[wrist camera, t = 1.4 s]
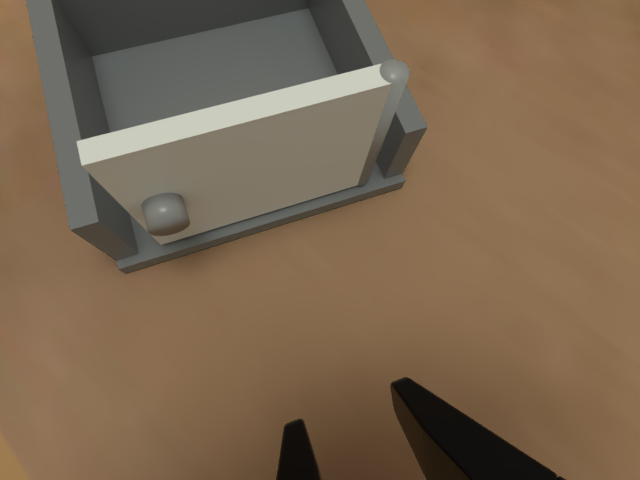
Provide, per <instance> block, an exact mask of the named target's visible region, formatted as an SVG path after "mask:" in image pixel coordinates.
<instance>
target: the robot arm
mask: <svg viewBox="0 0 640 480" xmlns="http://www.w3.org/2000/svg"><path fill="white" fill-rule="evenodd" d="M390 388H391V394H392V401H393V407H394V411H395V413H396V416H397V418H398V420H399V422H400V425H401V427H402V429H403V431H404V433H405V435H406V437H407V439H408V442H409V444H410V446H411V448H412V450H413V452H414V454H415V456H416V459H417V461H418V463H419V465H420V467H421V469H422V471H423V473H424V475H425V477H426V479H427V480H565V479H564V478H562V477H560V476H559V477H558V478H557V475H556V473H554V472H553V471H551V470H550V469H548V468H547V467H545V466H544V465H542V464H540V463H539V462H537V461H536V460H534V459H533V458H531V457H530V456H528V455H527V454H525V453H524V452H522V451H520V450H519V449H517V448H516V447H514V446H513V445H511V444H510V443H508V442H507V441H505V440H504V439H502V438H501V437H499V436H497V435H496V434H494V433H493V432H491V431H490V430H488V429H487V428H485V427H484V426H482V425H481V424H479V423H477V422H476V421H474V420H473V419H471V418H470V417H468V416H467V415H465V414H464V413H462V412H461V411H459V410H457V409H456V408H454V407H453V406H451V405H450V404H448V403H447V402H445V401H444V400H442V399H441V398H439V397H437V396H436V395H434V394H433V393H431V392H430V391H428V390H427V389H425V388H424V387H422V386H421V385H419V384H417V383H416V382H414V381H413V380H411V379H410V378H407V377H404V378H401V379H399V380H396V381H394V382H392V383H391V386H390ZM276 480H322V476H321V473H320V470H319V467H318V464H317V461H316V458H315V454H314V451H313V448H312V445H311V442H310V439H309V436H308V433H307V430H306V426H305V423H304V421H303V419H297V420H294V421H292V422H289V423H287V424H286V425H285V427H284V431H283V437H282V444H281V451H280V458H279V464H278V471H277V478H276Z"/></svg>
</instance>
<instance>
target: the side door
mask: <svg viewBox="0 0 640 480" xmlns="http://www.w3.org/2000/svg"><path fill="white" fill-rule="evenodd" d="M409 75H410V71H409V68H408V66H407V65H406V64H405V63H404V62H402V61H400V60H397V59H389V60H386V61H384V62H383V63H382V64H378V65H374V66H370V67H366V68H362V69H358V70H354V71H351V72H347V73H343V74H339V75H335V76H331V77H327V78H323V79H319V80H315V81H311V82H307V83H303V84H299V85H296V86H292V87H288V88H284V89H280V90H276V91H272V92H268V93H264V94H260V95H256V96H252V97H248V98H244V99H241V100H237V101H233V102H229V103H225V104H221V105H217V106H213V107H209V108H205V109H201V110H197V111H193V112H189V113H186V114H182V115H178V116H174V117H170V118H166V119H162V120H158V121H154V122H150V123H146V124H142V125H138V126H134V127H131V128H127V129H123V130H119V131H115V132H111V133H107V134H103V135H99V136H95V137H91V138H87V139H83V140H79V141H76V142H77V146H78V151H79V156H80V161H81V165H82V167H83V168H84V169H85V170H86V171H87V172H88V173H89V174H90V175H91V176H92V177H93V178H94V179H95V180H96V181H97V182H98V183H99V184H100V185H101V186H102V187H103V188H104V189H105V190H106V191H107V192H108V193H109V194H110V195H111V196H112V197H113V198H114V199H115V200H116V201H117V202H118V203H119V204H120V205H121V206H122V207H123V208H124V209H125V210H126V211H127V212H128V213H129V214H130V215H131V216H132V217H133V218H134V219H135V220H136V221H137V222H138V223H139V224H140V225H141V226H142V227H143V228H144V229H145V230H146V231H147V232H148V233H149V234H150V235H151V236H152V237H153V238H154V239H155V240H156V241H157V242H158V243H159V244H160V245H163V244H166V243H169V242H173V241H176V240H179V239H183V238H186V237H189V236H192V235H196V234H199V233H202V232H206V231H209V230H212V229H215V228H219V227H222V226H225V225H229V224H232V223H235V222H238V221H242V220H245V219H248V218H252V217H255V216H258V215H261V214H265V213H268V212H271V211H275V210H278V209H281V208H285V207H288V206H291V205H294V204H298V203H301V202H304V201H308V200H311V199H314V198H317V197H321V196H324V195H327V194H331V193H334V192H337V191H340V190H344V189H347V188H350V187H354V186H357V185H358V186H362V185H365V184H366V183H367V182H368V181H369V178H370V175H371V173H372V170H373V168H374V165H375V163H376V160H377V157H378V155H379V152H380V150H381V147H382V145H383V142H384V140H385V137H386V134H387V132H388V129H389V127H390V124H391V122H392V119H393V116H394V114H395V111H396V109H397V106H398V104H399V101H400V98H401V96H402V93H403V91H404V88H405V86H406V83H407V80H408V78H409Z"/></svg>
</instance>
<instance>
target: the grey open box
mask: <svg viewBox="0 0 640 480" xmlns="http://www.w3.org/2000/svg"><path fill="white" fill-rule="evenodd" d="M26 3H27V8H28V13H29V18H30V23H31V29H32V34H33V39H34V44H35V49H36V55H37V60H38V65H39V70H40V76H41V81H42V86H43V91H44V96H45V102H46V107H47V112H48V117H49V123H50V128H51V133H52V138H53V143H54V149H55V154H56V159H57V164H58V170H59V175H60V180H61V185H62V190H63V196H64V201H65V206H66V211H67V217H68V222H69V227H70V230H71V231H72V232H74V233H75V234H77V235H79V236H80V237H82V238H83V239H85V240H86V241H88V242H89V243H91V244H92V245H94V246H95V247H97V248H98V249H100V250H101V251H103V252H104V253H106V254H107V255H109V256H110V257H112V258H113V259H115V260H116V261H117V264H118V268H119V270H121V271H122V272H124V273H129V272H132V271H136V270H139V269H142V268H145V267H148V266H152V265H155V264H158V263H161V262H164V261H168V260H171V259H174V258H177V257H181V256H184V255H187V254H190V253H193V252H197V251H200V250H203V249H206V248H209V247H213V246H216V245H219V244H222V243H226V242H229V241H232V240H235V239H238V238H242V237H245V236H248V235H251V234H254V233H258V232H261V231H264V230H267V229H271V228H274V227H277V226H280V225H283V224H287V223H290V222H293V221H296V220H299V219H303V218H306V217H309V216H312V215H316V214H319V213H322V212H325V211H328V210H332V209H335V208H338V207H341V206H344V205H348V204H351V203H354V202H357V201H361V200H364V199H367V198H370V197H373V196H377V195H380V194H383V193H386V192H389V191H393V190H396V189H399V188H402V186H403V184H404V182H405V179H404V177H403V174H402V173H403V171H404V169H405V168H406V166H407V164H408V162H409V160H410V158H411V157H412V155H413V153H414V151H415V149H416V147H417V145H418V144H419V142H420V140H421V138H422V136H423V134H424V133H425V131H426V129H427V125H426V123H425V121H424V119H423V117H422V115H421V113H420V111H419V109H418V107H417V105H416V103H415V101H414V99H413V97H412V95H411V93H410V91H409V89H408V87H407V85H406V86H405V88H404V91H403V93H402V96H401V98H400V101H399V104H398V106H397V109H396V111H395V114H394V116H393V119H392V122H391V124H390V127H389V129H388V132H387V134H386V137H385V140H384V142H383V145H382V147H381V150H380V152H379V155H378V157H377V160H376V163H375V165H374V168H373V170H372V173H371V175H370V178H369V181H368V182H367V183H366V184H365V185H362V186H358V185H357V186H354V187H350V188H347V189H344V190H340V191H337V192H334V193H331V194H327V195H324V196H321V197H317V198H314V199H311V200H308V201H304V202H301V203H298V204H294V205H291V206H288V207H285V208H281V209H278V210H275V211H271V212H268V213H265V214H261V215H258V216H255V217H252V218H248V219H245V220H242V221H238V222H235V223H232V224H229V225H225V226H222V227H219V228H215V229H212V230H209V231H206V232H202V233H199V234H196V235H192V236H189V237H186V238H183V239H179V240H176V241H173V242H169V243H166V244H163V245H160V244H159V243H158V242H157V241H156V240H155V239H154V238H153V237H152V236H151V235H150V234H149V233H148V232H147V231H146V230H145V229H144V228H143V227H142V226H141V225H140V224H139V223H138V222H137V221H136V220H135V219H134V218H133V217H132V216H131V215H130V214H129V213H128V212H127V211H126V210H125V209H124V208H123V207H122V206H121V205H120V204H119V203H118V202H117V201H116V200H115V199H114V198H113V197H112V196H111V195H110V194H109V193H108V192H107V191H106V190H105V189H104V188H103V187H102V186H101V185H100V184H99V183H98V182H97V181H96V180H95V179H94V178H93V177H92V176H91V175H90V174H89V173H88V172H87V171H86V170H85V169H84V168H83V167H82V165H81V161H80V156H79V151H78V146H77V142H76V141H79V140H83V139H87V138H91V137H95V136H99V135H103V134H107V133H111V132H115V131H119V130H123V129H127V128H131V127H134V126H138V125H142V124H146V123H150V122H154V121H158V120H162V119H166V118H170V117H174V116H178V115H182V114H186V113H189V112H193V111H197V110H201V109H205V108H209V107H213V106H217V105H221V104H225V103H229V102H233V101H237V100H241V99H244V98H248V97H252V96H256V95H260V94H264V93H268V92H272V91H276V90H280V89H284V88H288V87H292V86H296V85H299V84H303V83H307V82H311V81H315V80H319V79H323V78H327V77H331V76H335V75H339V74H343V73H347V72H351V71H354V70H358V69H362V68H366V67H370V66H374V65H378V64H382V63H383V62H384V61H386V60H389V59H393V57H392V55H391V53H390V51H389V49H388V47H387V45H386V43H385V41H384V39H383V37H382V35H381V33H380V31H379V29H378V27H377V24H376V22H375V20H374V18H373V16H372V14H371V12H370V10H369V8H368V6H367V4H366V2H365V0H26Z"/></svg>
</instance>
